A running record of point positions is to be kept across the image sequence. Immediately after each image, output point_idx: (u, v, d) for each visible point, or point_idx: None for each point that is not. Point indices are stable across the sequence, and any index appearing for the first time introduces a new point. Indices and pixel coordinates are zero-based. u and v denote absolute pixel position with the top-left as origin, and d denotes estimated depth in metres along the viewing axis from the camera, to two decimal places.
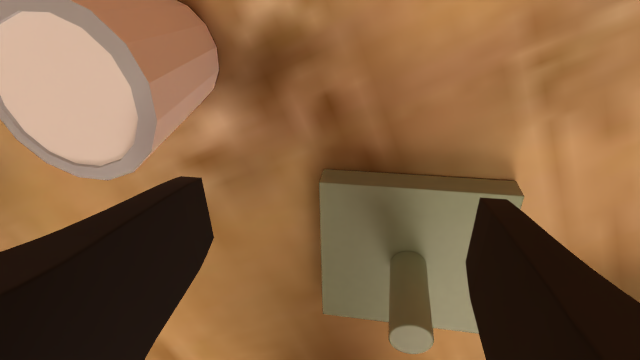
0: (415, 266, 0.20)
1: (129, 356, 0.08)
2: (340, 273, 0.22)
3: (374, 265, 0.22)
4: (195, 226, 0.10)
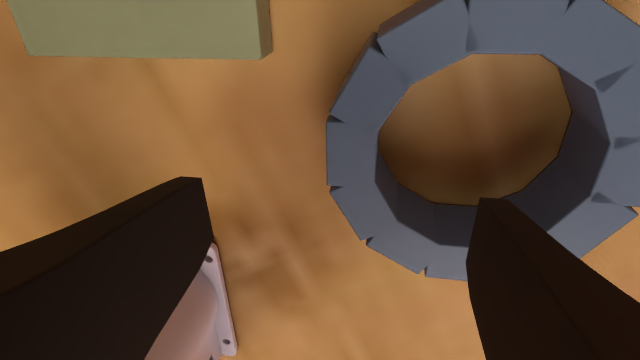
0: None
1: (129, 356, 0.08)
2: None
3: None
4: (195, 226, 0.10)
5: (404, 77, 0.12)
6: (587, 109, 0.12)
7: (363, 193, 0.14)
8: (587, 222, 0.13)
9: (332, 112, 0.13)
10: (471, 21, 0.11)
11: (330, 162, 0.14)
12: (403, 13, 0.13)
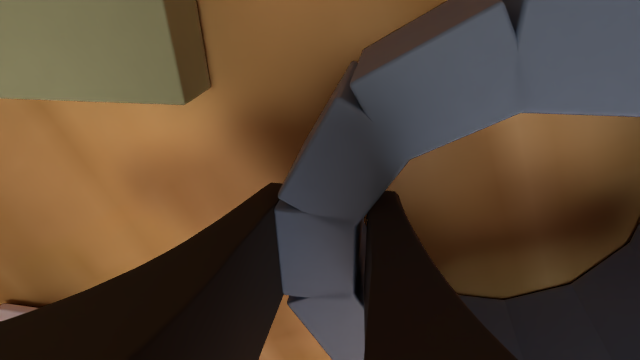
0: None
1: None
2: None
3: None
4: None
5: (399, 148, 0.07)
6: None
7: (337, 308, 0.09)
8: None
9: (282, 197, 0.08)
10: (522, 58, 0.06)
11: (285, 265, 0.09)
12: (398, 35, 0.08)
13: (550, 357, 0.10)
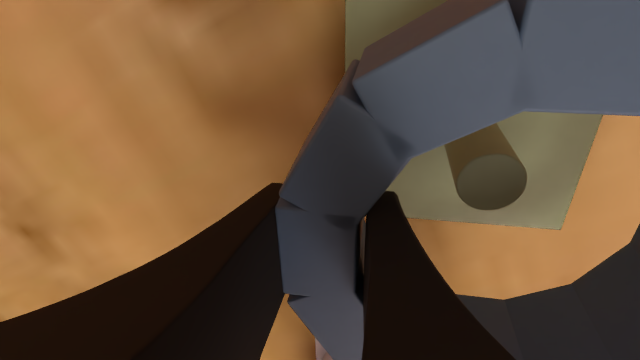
0: None
1: None
2: None
3: None
4: None
5: (401, 147, 0.07)
6: None
7: (338, 307, 0.09)
8: None
9: (283, 195, 0.08)
10: (525, 56, 0.06)
11: (285, 263, 0.09)
12: (400, 33, 0.08)
13: (550, 357, 0.10)
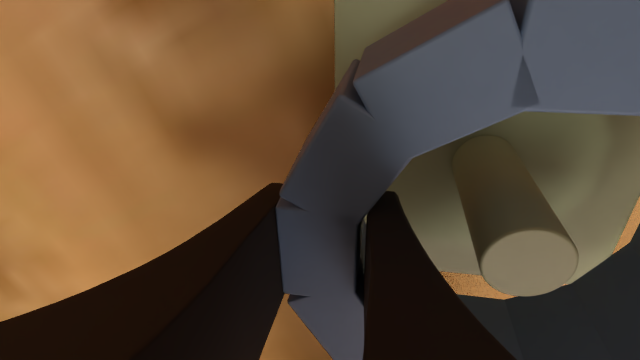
0: (506, 151, 0.11)
1: None
2: None
3: (423, 168, 0.13)
4: None
5: (401, 147, 0.07)
6: None
7: (338, 307, 0.09)
8: None
9: (284, 195, 0.08)
10: (526, 56, 0.06)
11: (286, 263, 0.09)
12: (401, 33, 0.08)
13: (550, 357, 0.10)
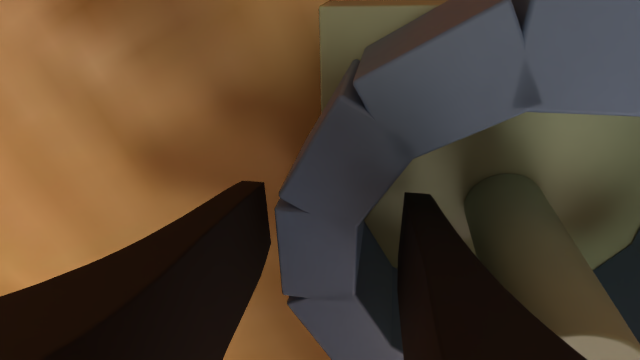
0: (535, 198, 0.09)
1: None
2: None
3: None
4: (258, 232, 0.10)
5: (402, 147, 0.07)
6: None
7: (338, 308, 0.09)
8: None
9: (283, 196, 0.08)
10: (528, 56, 0.06)
11: (285, 265, 0.09)
12: (401, 33, 0.08)
13: None
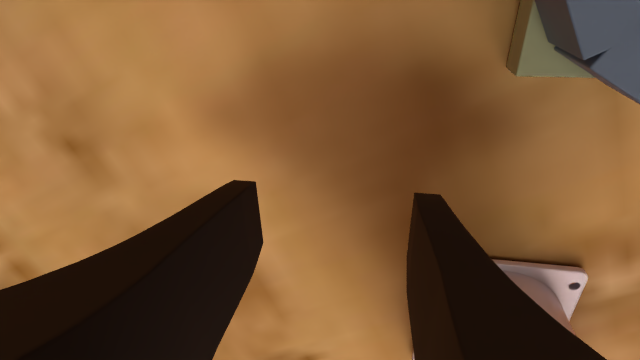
0: None
1: None
2: None
3: None
4: (250, 231, 0.10)
5: None
6: None
7: None
8: None
9: None
10: None
11: None
12: None
13: None
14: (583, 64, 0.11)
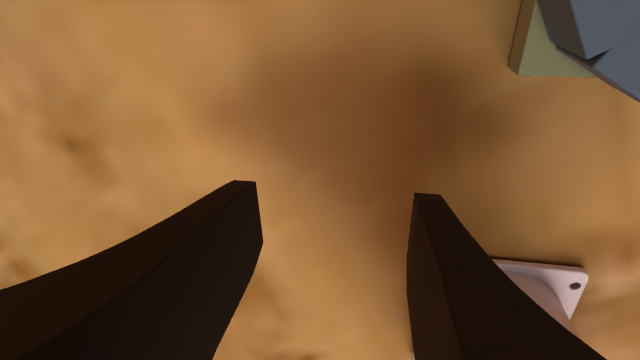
0: None
1: None
2: None
3: None
4: (250, 231, 0.10)
5: None
6: None
7: None
8: None
9: None
10: None
11: None
12: None
13: None
14: (586, 63, 0.11)
